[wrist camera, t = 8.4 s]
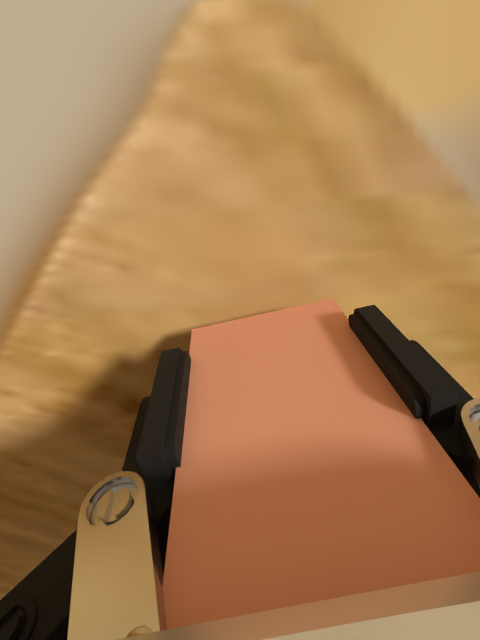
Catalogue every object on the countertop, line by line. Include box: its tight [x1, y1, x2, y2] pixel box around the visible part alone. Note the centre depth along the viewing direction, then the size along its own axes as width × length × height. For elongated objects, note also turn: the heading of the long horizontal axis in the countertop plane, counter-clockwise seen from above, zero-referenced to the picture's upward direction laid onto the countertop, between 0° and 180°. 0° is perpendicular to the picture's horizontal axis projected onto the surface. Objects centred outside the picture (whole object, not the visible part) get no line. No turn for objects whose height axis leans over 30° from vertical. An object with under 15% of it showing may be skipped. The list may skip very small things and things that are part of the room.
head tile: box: [162, 298, 480, 629], centre depth 8 cm, size 5×2×9 cm, turn 102°
